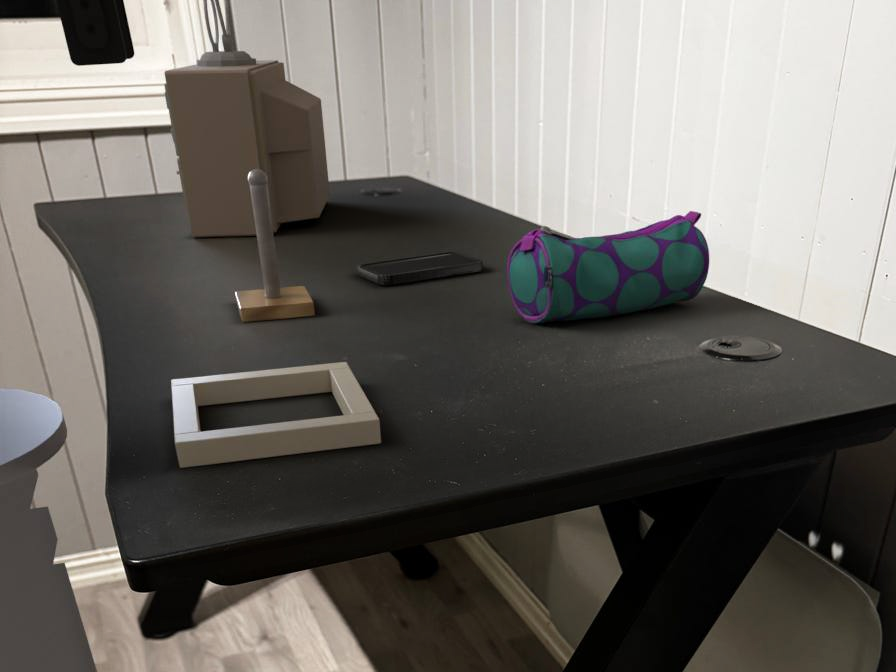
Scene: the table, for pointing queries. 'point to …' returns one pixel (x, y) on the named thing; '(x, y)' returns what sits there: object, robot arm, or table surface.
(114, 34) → the robot arm
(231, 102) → the television
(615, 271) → the pencil case
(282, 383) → the white square frame
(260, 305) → the wooden base with peg
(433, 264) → the phone
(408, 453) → the table surface
